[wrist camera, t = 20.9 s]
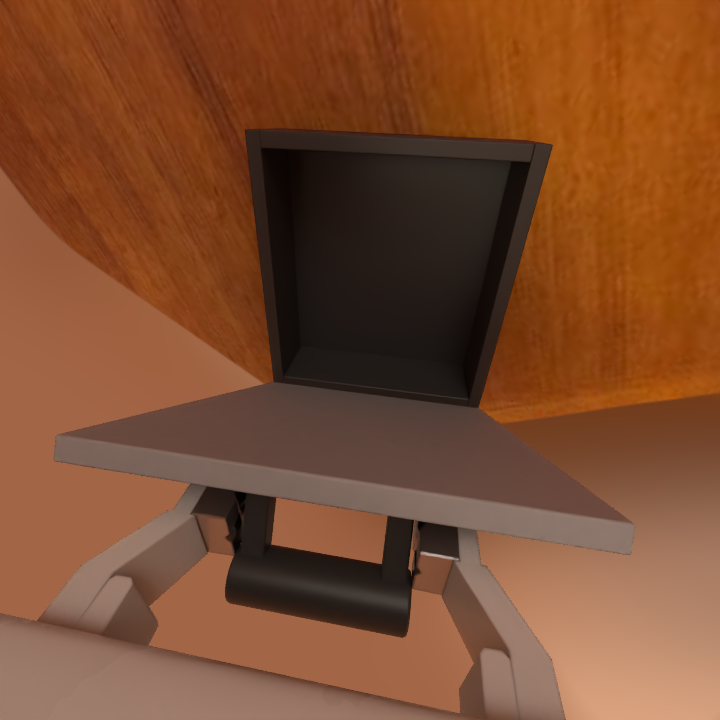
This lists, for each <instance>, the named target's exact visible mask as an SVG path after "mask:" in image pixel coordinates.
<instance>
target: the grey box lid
mask: <svg viewBox="0 0 720 720" xmlns="http://www.w3.org/2000/svg"><path fill="white" fill-rule="evenodd" d="M54 461H56V462H62V463H68V464H74V465H80V466H86V467H92V468H99V469H104V470H111V471H117V472H123V473H129V474H135V475H141V476H147V477H153V478H160V479H166V480H172V481H178V482H185V483H190V484H196V485H202V486H208V487H215V488H221V489H227V490H233V491H239V492H245V493H246V502H245V511H244V521H243V531H242V540H241V545H240V547H239V548H238V550H237V551H236V553H235V555H234V557H233V560H232V562H231V565H230V568H229V571H228V575H227V580H226V586H225V597H226V600H227V601H228V602H229V603H231V604H236V605H241V606H246V607H251V608H256V609H261V610H266V611H271V612H277V613H281V614H286V615H291V616H296V617H301V618H306V619H311V620H316V621H321V622H327V623H331V624H337V625H341V626H347V627H352V628H356V629H362V630H366V631H371V632H376V633H381V634H386V635H392V636H396V637H401V638H403V637H405V636H406V635H407V632H408V627H409V619H410V609H411V594H412V575H411V571H410V570H409V569H408V566H409V557H410V549H411V541H412V533H413V524H414V520H416V521H422V522H429V523H435V524H441V525H447V526H453V527H459V528H465V529H471V530H477V531H484V532H490V533H496V534H502V535H509V536H514V537H521V538H527V539H532V540H539V541H545V542H551V543H557V544H563V545H570V546H576V547H582V548H588V549H594V550H600V551H606V552H612V553H618V554H625V555H631V553H632V547H633V539H634V533H635V525H634V524H633V523H632V522H631V521H630V520H628V519H627V518H626V517H624V516H623V515H621V514H620V513H619V512H618V511H616V510H615V509H614V508H612V507H611V506H609V505H608V504H607V503H606V502H604V501H603V500H601V499H600V498H599V497H597V496H596V495H595V494H593V493H592V492H590V491H589V490H588V489H587V488H585V487H584V486H583V485H581V484H580V483H579V482H577V481H576V480H575V479H573V478H572V477H571V476H569V475H568V474H567V473H565V472H564V471H562V470H561V469H560V468H558V467H557V466H556V465H554V464H553V463H552V462H550V461H549V460H548V459H546V458H545V457H544V456H542V455H541V454H540V453H538V452H537V451H535V450H534V449H533V448H531V447H530V446H529V445H527V444H526V443H525V442H523V441H522V440H521V439H519V438H518V437H517V436H515V435H514V434H513V433H511V432H510V431H509V430H507V429H506V428H504V427H503V426H502V425H501V424H499V423H498V422H497V421H495V420H494V419H492V418H491V417H490V416H488V415H487V414H486V413H484V412H483V411H482V410H480V409H479V408H472V407H464V406H457V405H449V404H441V403H433V402H425V401H417V400H410V399H402V398H394V397H386V396H378V395H370V394H362V393H355V392H347V391H339V390H331V389H323V388H315V387H308V386H300V385H292V384H284V383H276V382H271V383H267V384H263V385H259V386H255V387H251V388H247V389H243V390H238V391H235V392H230V393H226V394H222V395H218V396H214V397H210V398H206V399H202V400H197V401H193V402H189V403H185V404H181V405H177V406H173V407H169V408H165V409H160V410H157V411H152V412H148V413H144V414H140V415H136V416H132V417H128V418H124V419H119V420H116V421H111V422H107V423H103V424H99V425H95V426H91V427H87V428H83V429H78V430H75V431H70V432H66V433H62V434H58V435H56V438H55V450H54ZM276 498H282V499H288V500H294V501H300V502H307V503H312V504H319V505H325V506H331V507H337V508H344V509H349V510H356V511H361V512H368V513H374V514H380V515H386V516H388V518H387V526H386V534H385V543H384V551H383V560H382V564H377V563H371V562H366V561H360V560H355V559H349V558H343V557H338V556H332V555H327V554H321V553H315V552H310V551H304V550H298V549H292V548H288V547H281V546H276V545H271V541H272V532H273V522H274V513H275V503H276Z"/></svg>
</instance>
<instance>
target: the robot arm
mask: <svg viewBox="0 0 720 720" xmlns="http://www.w3.org/2000/svg"><path fill="white" fill-rule="evenodd" d="M245 502H246V493H245V492H239V491H233V490H227V489H221V488H215V487H208V486H202V485H196V484H190V485H189V486H188V488H187V489H186V491H185V492H184V494H183V495H182V497H181V498H180V500H179V501H178V503H177V504H176V506H175V507H174V509H173V510H172V511H168V510H167V511H166V512H164V513H163V514H161V515H160V516H158V517H156V518H155V519H153V520H151V521H150V522H148V523H147V524H145V525H144V526H142V527H140V528H139V529H138V530H136V531H135V532H133V533H131V534H129V535H128V536H126V537H125V538H123V539H122V540H120V541H118V542H117V543H115V544H114V545H112V546H111V547H109V548H107V549H106V550H104V551H103V552H101V553H100V554H98V555H96V556H95V557H93V558H92V559H90V560H89V561H87V562H85V563H84V564H83V565H81V566H80V567H79V568H78V570H77V571H76V572H75V573H74V575H73V576H72V577H71V578H70V580H69V581H68V582H67V583H66V585H65V586H64V587H63V589H62V590H61V591H60V592H59V594H58V595H57V596H56V597H55V599H54V600H53V601H52V603H51V604H50V605H49V606H48V608H47V609H46V610H45V611H44V613H43V614H42V615H41V617H40V618H39V619H38V620H37V621H34V620H29V619H24V618H20V617H15V616H11V615H6V614H1V613H0V720H566V719H565V715H564V710H563V706H562V702H561V697H560V693H559V689H558V684H557V680H556V676H555V672H554V667H553V663H552V659H551V658H550V656H549V655H548V653H547V652H546V650H545V649H544V648H543V646H542V645H541V643H540V642H539V640H538V639H537V637H536V636H535V635H534V633H533V632H532V630H531V629H530V628H529V626H528V625H527V623H526V622H525V620H524V619H523V617H522V616H521V615H520V613H519V612H518V610H517V609H516V607H515V606H514V604H513V603H512V602H511V600H510V599H509V597H508V596H507V595H506V593H505V592H504V590H503V589H502V587H501V586H500V584H499V583H498V582H497V580H496V579H495V577H494V576H493V574H492V573H491V571H490V570H489V569H488V567H487V566H484V565H481V561H480V560H481V559H480V552H479V544H478V536H477V530H471V529H465V528H459V527H453V526H447V525H441V524H435V523H429V522H422V521H416V520H415V525H414V533H413V550H414V552H415V553H414V558H413V563H412V589H415V590H420V591H426V592H430V593H434V594H439V595H442V598H443V600H444V603H445V604H446V607H447V609H448V611H449V613H450V615H451V617H452V619H453V621H454V623H455V625H456V627H457V629H458V631H459V633H460V635H461V637H462V639H463V642H464V644H465V645H466V648H467V650H468V652H469V654H470V656H471V658H472V660H473V662H474V664H473V666H472V668H471V669H470V671H469V673H468V674H467V676H466V678H465V680H464V682H463V683H462V685H461V687H460V688H459V696H460V713H455V712H450V711H446V710H441V709H436V708H432V707H427V706H423V705H418V704H414V703H409V702H404V701H400V700H395V699H391V698H386V697H381V696H377V695H372V694H368V693H363V692H359V691H354V690H350V689H345V688H340V687H336V686H331V685H326V684H322V683H318V682H313V681H308V680H304V679H299V678H294V677H290V676H286V675H281V674H276V673H272V672H267V671H263V670H258V669H253V668H249V667H244V666H240V665H235V664H231V663H226V662H221V661H216V660H212V659H208V658H203V657H198V656H193V655H189V654H185V653H180V652H176V651H171V650H166V649H162V648H157V647H153V646H148V645H149V642H150V641H151V639H152V637H153V635H154V633H155V631H156V629H157V627H158V621H157V619H156V617H155V616H154V614H153V612H152V611H151V609H150V607H149V606H150V605H151V604H152V603H153V602H154V601H155V600H157V599H158V598H159V597H160V596H161V595H162V594H163V593H164V592H165V591H167V590H168V589H169V588H170V587H171V586H172V585H173V584H174V583H175V582H177V581H178V580H179V579H180V578H181V577H182V576H183V575H184V574H185V573H186V572H188V571H189V570H190V569H191V568H192V567H193V566H195V565H196V564H197V563H198V562H199V561H200V560H201V559H202V558H203V557H205V555H207V554H208V553H207V552H212V553H218V554H225V555H232V556H234V555H235V553H236V551H237V550H238V548H239V547H240V545H241V540H242V531H243V521H244V511H245Z"/></svg>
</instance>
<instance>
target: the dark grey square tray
mask: <svg viewBox="0 0 720 720" xmlns="http://www.w3.org/2000/svg"><path fill="white" fill-rule="evenodd" d="M245 136H246V145H247V153H248V162H249V171H250V179H251V188H252V197H253V205H254V214H255V223H256V231H257V240H258V248H259V257H260V266H261V274H262V283H263V292H264V300H265V309H266V318H267V326H268V335H269V344H270V352H271V361H272V370H273V378H274V382H276V383H284V384H292V385H300V386H308V387H315V388H323V389H331V390H339V391H347V392H355V393H362V394H370V395H378V396H386V397H394V398H402V399H410V400H417V401H425V402H433V403H441V404H449V405H457V406H464V407H472V408H479V404H480V400H481V397H482V393H483V390H484V386H485V383H486V379H487V376H488V372H489V369H490V365H491V362H492V358H493V355H494V351H495V348H496V344H497V340H498V337H499V333H500V330H501V326H502V323H503V319H504V316H505V312H506V309H507V305H508V302H509V298H510V295H511V291H512V288H513V284H514V280H515V277H516V273H517V270H518V266H519V263H520V259H521V256H522V252H523V249H524V245H525V242H526V238H527V235H528V231H529V228H530V224H531V220H532V217H533V213H534V210H535V206H536V203H537V199H538V196H539V192H540V189H541V185H542V182H543V178H544V175H545V171H546V168H547V164H548V160H549V157H550V153H551V150H552V146H553V145H552V144H546V143H540V142H534V141H527V140H509V139H488V138H467V137H446V136H426V135H405V134H384V133H363V132H343V131H322V130H301V129H246V130H245Z"/></svg>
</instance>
